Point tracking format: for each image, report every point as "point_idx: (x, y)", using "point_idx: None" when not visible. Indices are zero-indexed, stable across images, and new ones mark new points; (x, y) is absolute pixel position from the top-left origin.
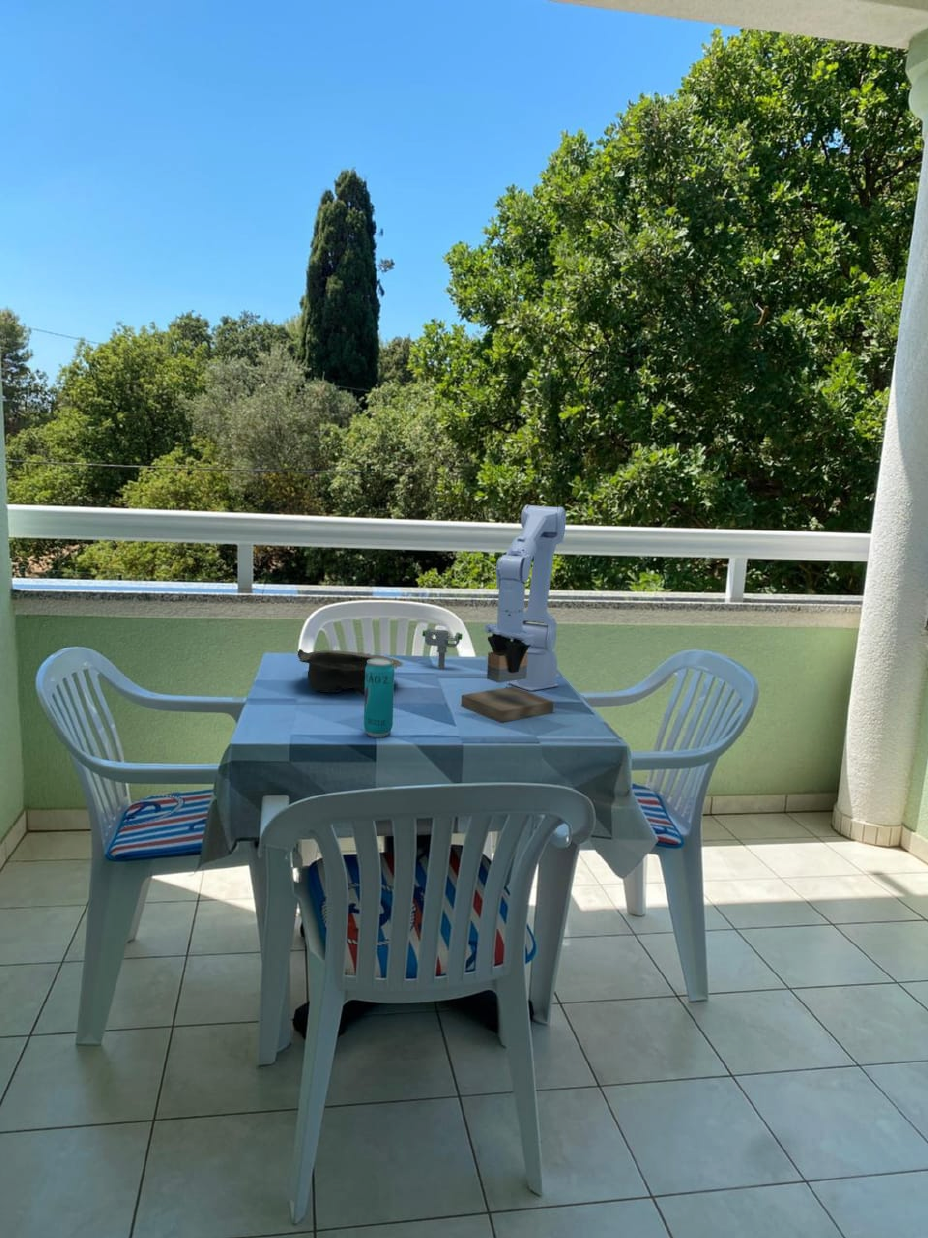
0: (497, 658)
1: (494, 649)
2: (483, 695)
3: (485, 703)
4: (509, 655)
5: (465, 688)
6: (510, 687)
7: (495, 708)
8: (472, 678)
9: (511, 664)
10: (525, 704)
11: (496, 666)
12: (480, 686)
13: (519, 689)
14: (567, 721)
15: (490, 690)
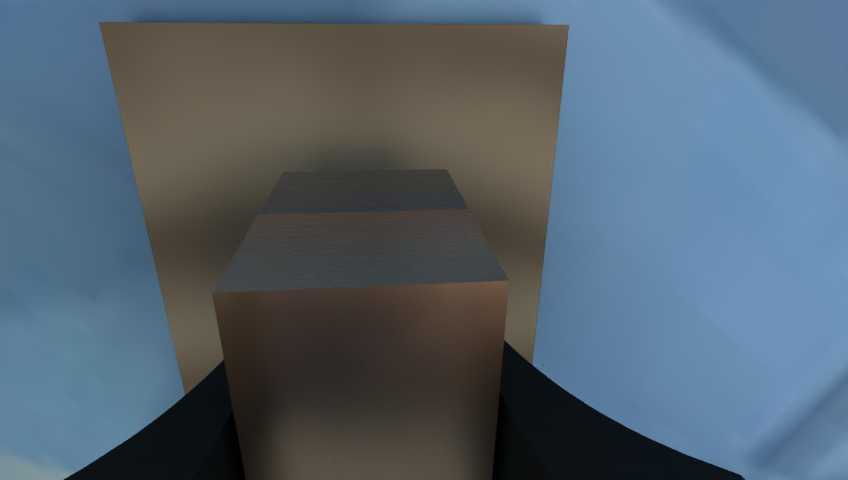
0: (278, 266)
1: (543, 415)
2: (479, 154)
3: (319, 42)
4: (201, 430)
5: (755, 256)
6: None
7: (181, 26)
8: (832, 374)
9: (214, 368)
10: (193, 265)
11: (310, 223)
12: (725, 336)
13: None
14: (46, 361)
15: (537, 258)
